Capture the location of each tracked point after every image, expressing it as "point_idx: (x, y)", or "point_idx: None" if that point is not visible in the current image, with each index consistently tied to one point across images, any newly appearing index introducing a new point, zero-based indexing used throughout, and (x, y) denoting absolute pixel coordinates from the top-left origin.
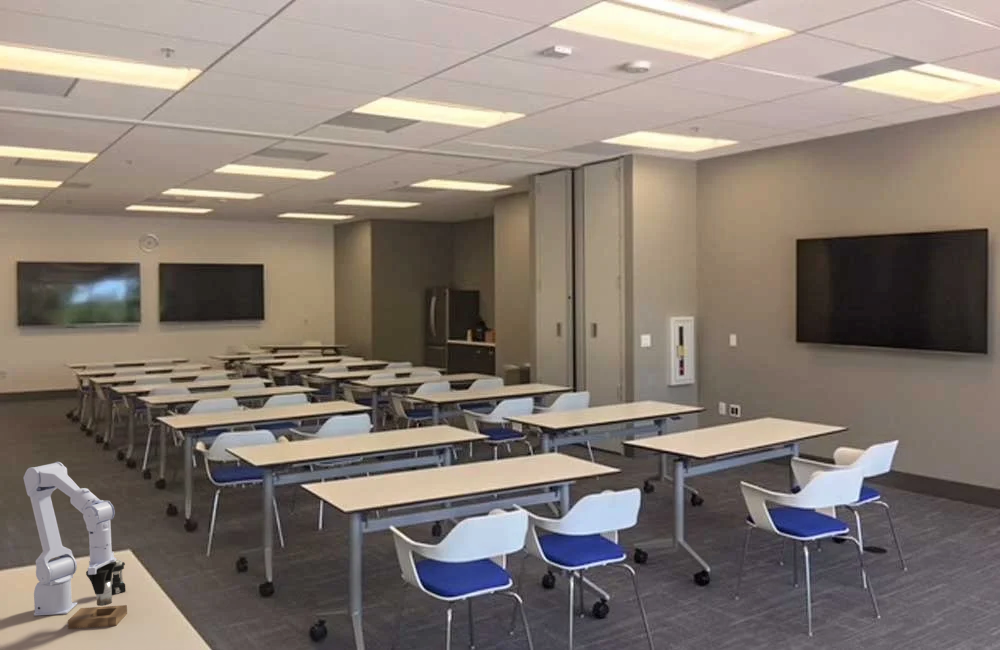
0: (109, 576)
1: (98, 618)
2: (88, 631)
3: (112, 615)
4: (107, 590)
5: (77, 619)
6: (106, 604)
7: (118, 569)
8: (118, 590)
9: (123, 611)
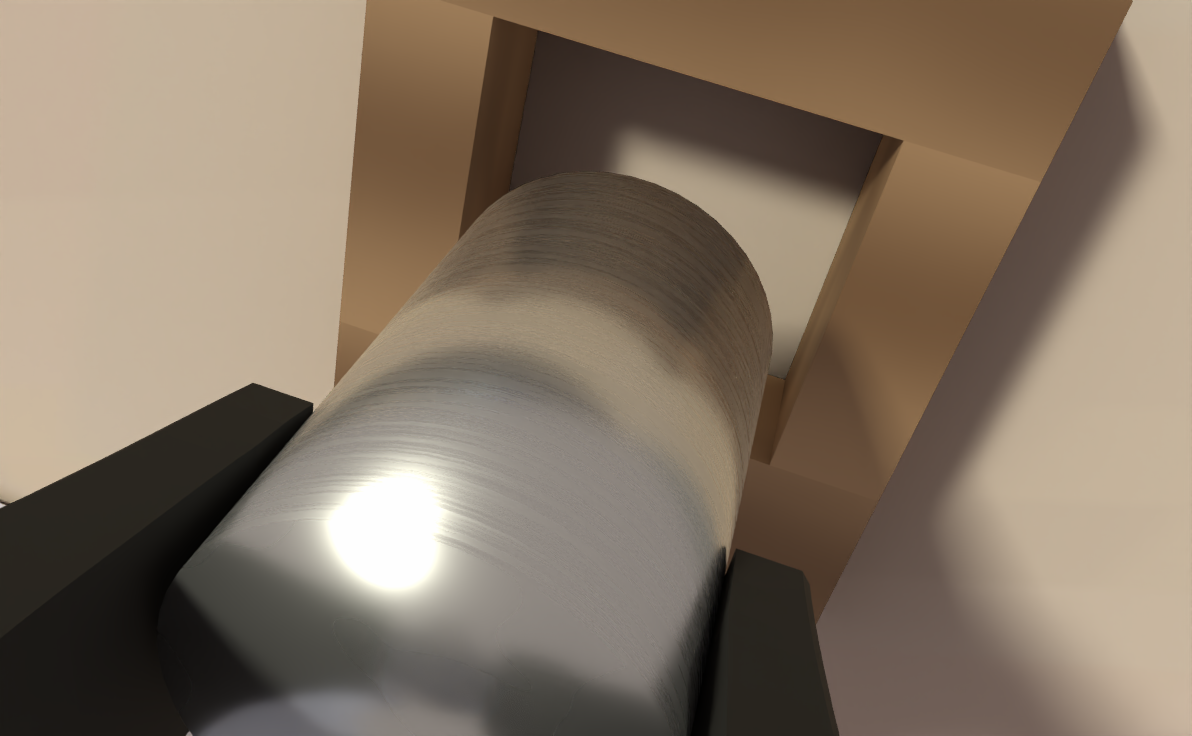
0: (21, 655)
1: (955, 340)
2: (1073, 405)
3: (960, 84)
4: (673, 482)
5: (816, 615)
6: (758, 295)
7: None
8: None
9: None
